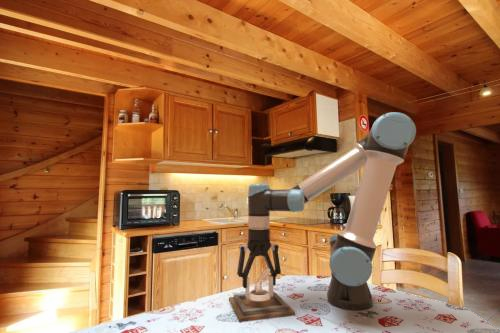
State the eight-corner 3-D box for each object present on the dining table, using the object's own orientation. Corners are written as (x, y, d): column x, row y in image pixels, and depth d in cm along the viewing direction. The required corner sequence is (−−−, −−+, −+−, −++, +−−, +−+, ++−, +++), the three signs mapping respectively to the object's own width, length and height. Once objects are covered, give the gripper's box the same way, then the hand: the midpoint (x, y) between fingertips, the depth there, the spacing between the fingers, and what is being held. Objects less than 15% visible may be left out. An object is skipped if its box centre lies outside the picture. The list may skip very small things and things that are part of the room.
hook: (285, 285, 89) (268, 273, 88) (264, 314, 89) (247, 303, 88) (281, 273, 96) (265, 263, 95) (261, 300, 97) (245, 290, 96)
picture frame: (275, 295, 103) (275, 289, 103) (295, 315, 86) (295, 307, 86) (228, 300, 98) (228, 293, 99) (239, 322, 81) (239, 314, 81)
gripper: (282, 226, 101) (283, 290, 99) (228, 227, 96) (227, 295, 93) (290, 228, 94) (291, 297, 91) (232, 230, 89) (231, 303, 86)
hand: (259, 296), depth 92 cm, fingers closed on hook, 8 cm apart
